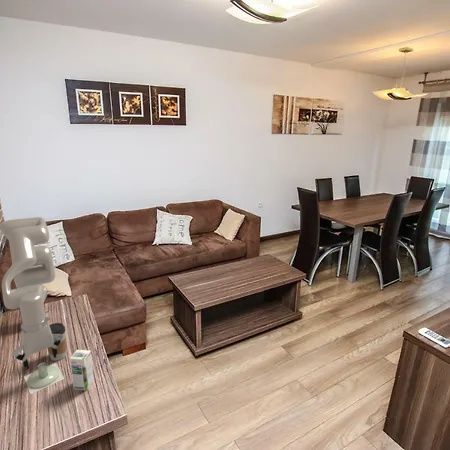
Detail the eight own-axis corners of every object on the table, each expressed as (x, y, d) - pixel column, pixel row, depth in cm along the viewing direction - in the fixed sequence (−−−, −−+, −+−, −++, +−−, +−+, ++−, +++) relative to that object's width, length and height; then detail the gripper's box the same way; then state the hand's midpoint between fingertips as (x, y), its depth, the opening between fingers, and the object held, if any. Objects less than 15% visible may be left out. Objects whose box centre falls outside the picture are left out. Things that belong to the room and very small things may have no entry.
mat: (23, 377, 124) (23, 376, 124) (56, 363, 132) (56, 362, 132) (30, 395, 115) (30, 394, 115) (64, 379, 123) (64, 378, 123)
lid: (25, 376, 124) (23, 364, 122) (55, 364, 131) (53, 352, 129) (31, 393, 116) (29, 380, 114) (62, 378, 123) (60, 366, 122)
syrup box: (73, 390, 118) (68, 358, 114) (81, 378, 124) (77, 348, 120) (87, 391, 118) (83, 360, 114) (94, 379, 124) (91, 349, 120)
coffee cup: (60, 364, 131) (55, 335, 127) (43, 361, 133) (38, 332, 129) (73, 352, 139) (69, 323, 135) (57, 349, 140) (52, 321, 136)
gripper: (56, 312, 125) (62, 347, 129) (6, 328, 113) (13, 366, 118) (62, 320, 120) (67, 356, 124) (9, 338, 108) (17, 377, 113)
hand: (41, 361), depth 121 cm, fingers open, 9 cm apart
